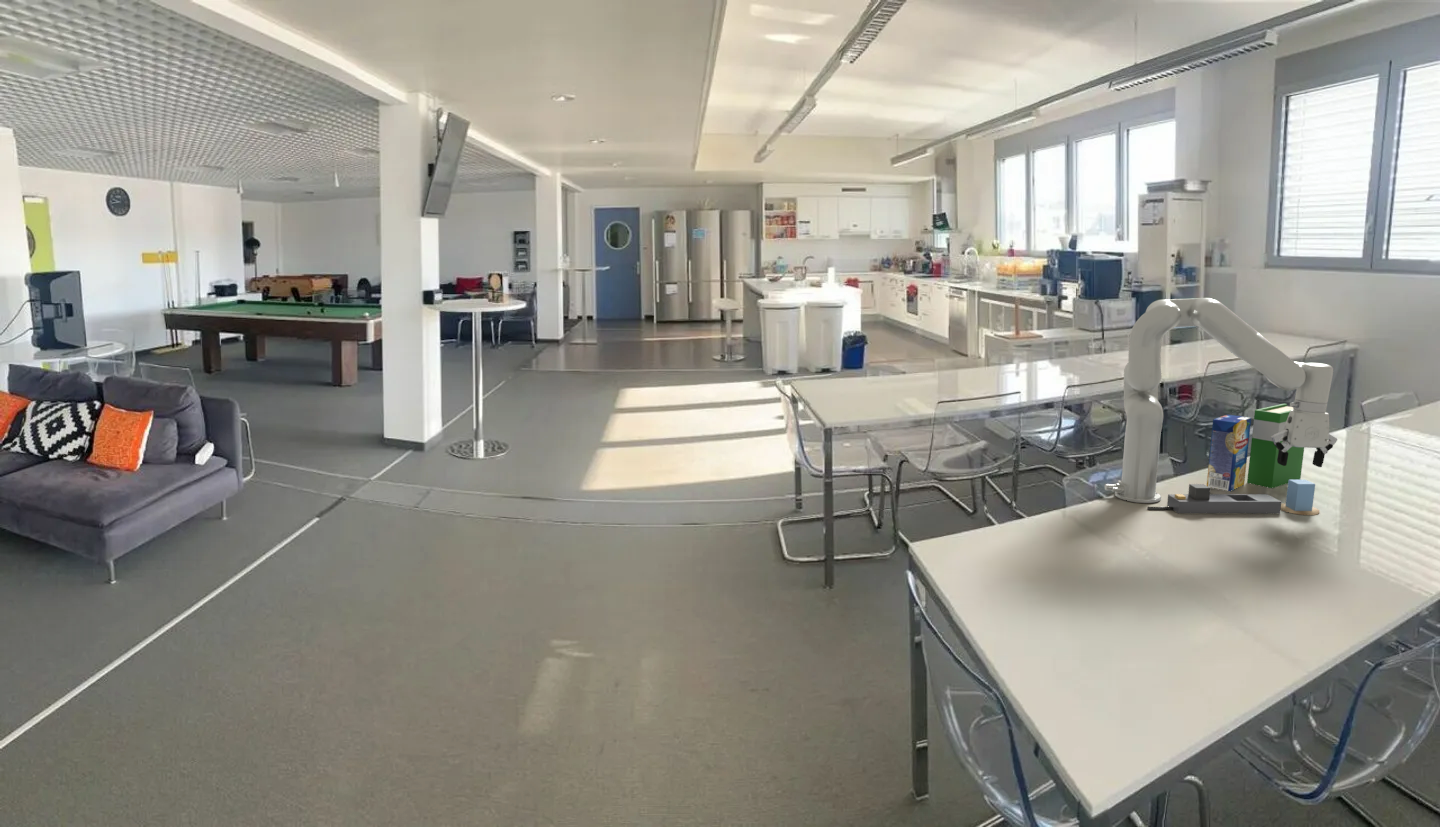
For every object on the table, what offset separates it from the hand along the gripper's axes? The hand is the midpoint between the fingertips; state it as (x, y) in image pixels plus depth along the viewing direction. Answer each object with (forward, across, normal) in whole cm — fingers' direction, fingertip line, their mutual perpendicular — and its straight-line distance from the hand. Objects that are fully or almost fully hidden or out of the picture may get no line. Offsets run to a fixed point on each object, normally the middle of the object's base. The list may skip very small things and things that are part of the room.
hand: (1299, 465), depth 235 cm
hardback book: (+13, +11, +29) cm, 34 cm away
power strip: (+14, -23, -1) cm, 27 cm away
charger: (+13, +2, 0) cm, 13 cm away
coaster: (+13, +2, 0) cm, 13 cm away
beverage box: (+14, -6, +24) cm, 28 cm away
